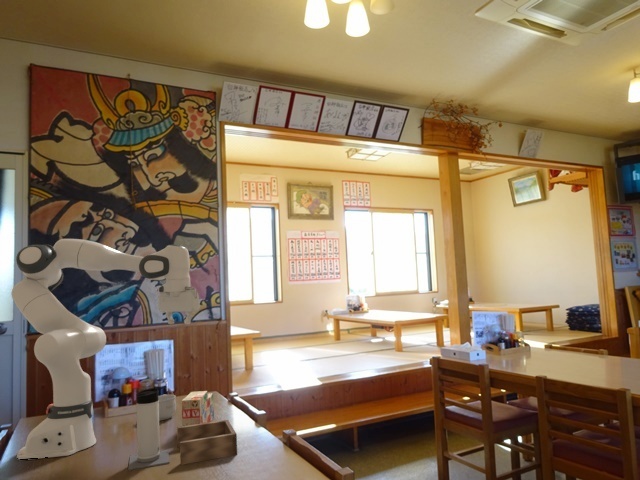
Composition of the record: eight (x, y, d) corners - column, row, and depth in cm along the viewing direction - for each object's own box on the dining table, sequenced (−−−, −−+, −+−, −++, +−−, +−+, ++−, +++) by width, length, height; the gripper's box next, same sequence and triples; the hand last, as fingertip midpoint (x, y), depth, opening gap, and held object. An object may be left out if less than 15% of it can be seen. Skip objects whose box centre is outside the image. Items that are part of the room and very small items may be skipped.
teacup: (170, 421, 174) (170, 400, 175) (142, 423, 174) (142, 401, 175) (182, 411, 188) (181, 391, 189) (156, 412, 188) (155, 393, 189)
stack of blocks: (198, 418, 178) (197, 386, 179) (214, 417, 178) (213, 385, 179) (182, 436, 156) (181, 399, 158) (200, 435, 157) (199, 398, 158)
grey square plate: (128, 470, 129) (128, 469, 129) (130, 457, 139) (130, 456, 139) (169, 463, 133) (169, 461, 133) (168, 450, 143) (168, 449, 143)
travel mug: (164, 457, 137) (163, 388, 139) (144, 464, 131) (143, 393, 133) (153, 453, 140) (152, 386, 142) (133, 460, 135) (132, 391, 137)
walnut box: (180, 464, 131) (180, 443, 132) (177, 446, 146) (177, 427, 147) (237, 454, 137) (236, 433, 137) (228, 438, 152) (227, 419, 153)
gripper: (203, 285, 170) (204, 323, 169) (168, 287, 182) (169, 323, 180) (189, 286, 165) (190, 325, 164) (154, 288, 176) (155, 324, 175)
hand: (179, 324), depth 172 cm, fingers open, 8 cm apart
